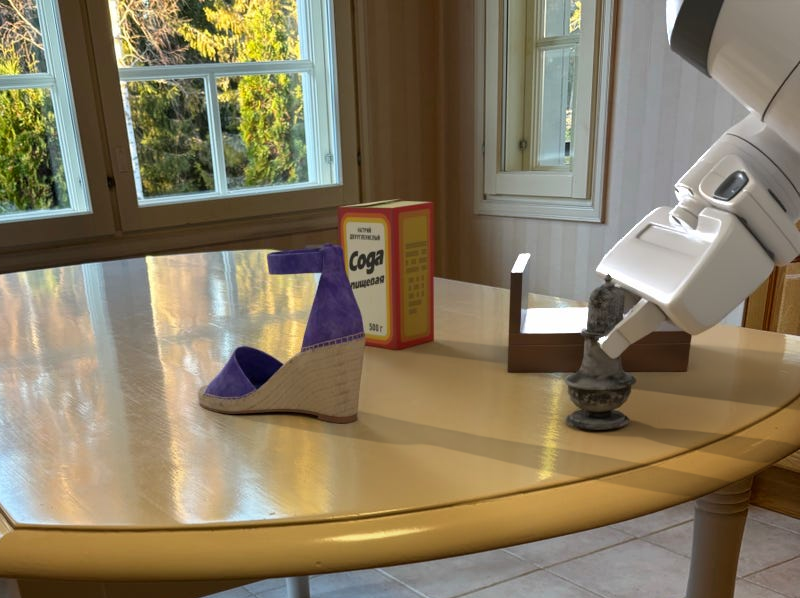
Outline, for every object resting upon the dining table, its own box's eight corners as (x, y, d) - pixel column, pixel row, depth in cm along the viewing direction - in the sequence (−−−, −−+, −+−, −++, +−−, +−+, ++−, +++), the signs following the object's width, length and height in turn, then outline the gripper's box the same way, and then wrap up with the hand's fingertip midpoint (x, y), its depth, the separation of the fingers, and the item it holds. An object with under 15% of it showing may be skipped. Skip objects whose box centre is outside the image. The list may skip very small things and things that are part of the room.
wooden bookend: (676, 342, 106) (687, 247, 101) (687, 371, 94) (700, 266, 89) (516, 344, 110) (519, 254, 105) (507, 372, 98) (510, 272, 94)
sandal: (244, 388, 100) (229, 237, 93) (381, 415, 87) (376, 243, 80) (184, 405, 95) (163, 247, 88) (319, 437, 82) (308, 255, 75)
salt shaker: (647, 420, 79) (663, 271, 74) (600, 434, 77) (613, 281, 71) (593, 407, 84) (604, 266, 78) (547, 421, 81) (555, 275, 75)
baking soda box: (433, 340, 115) (433, 198, 108) (396, 350, 112) (393, 204, 104) (380, 332, 122) (376, 198, 114) (344, 341, 118) (337, 203, 110)
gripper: (659, 172, 80) (541, 299, 85) (763, 185, 62) (606, 344, 67) (704, 224, 82) (586, 345, 87) (817, 251, 65) (661, 401, 69)
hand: (595, 345), depth 77 cm, fingers closed on salt shaker, 3 cm apart
